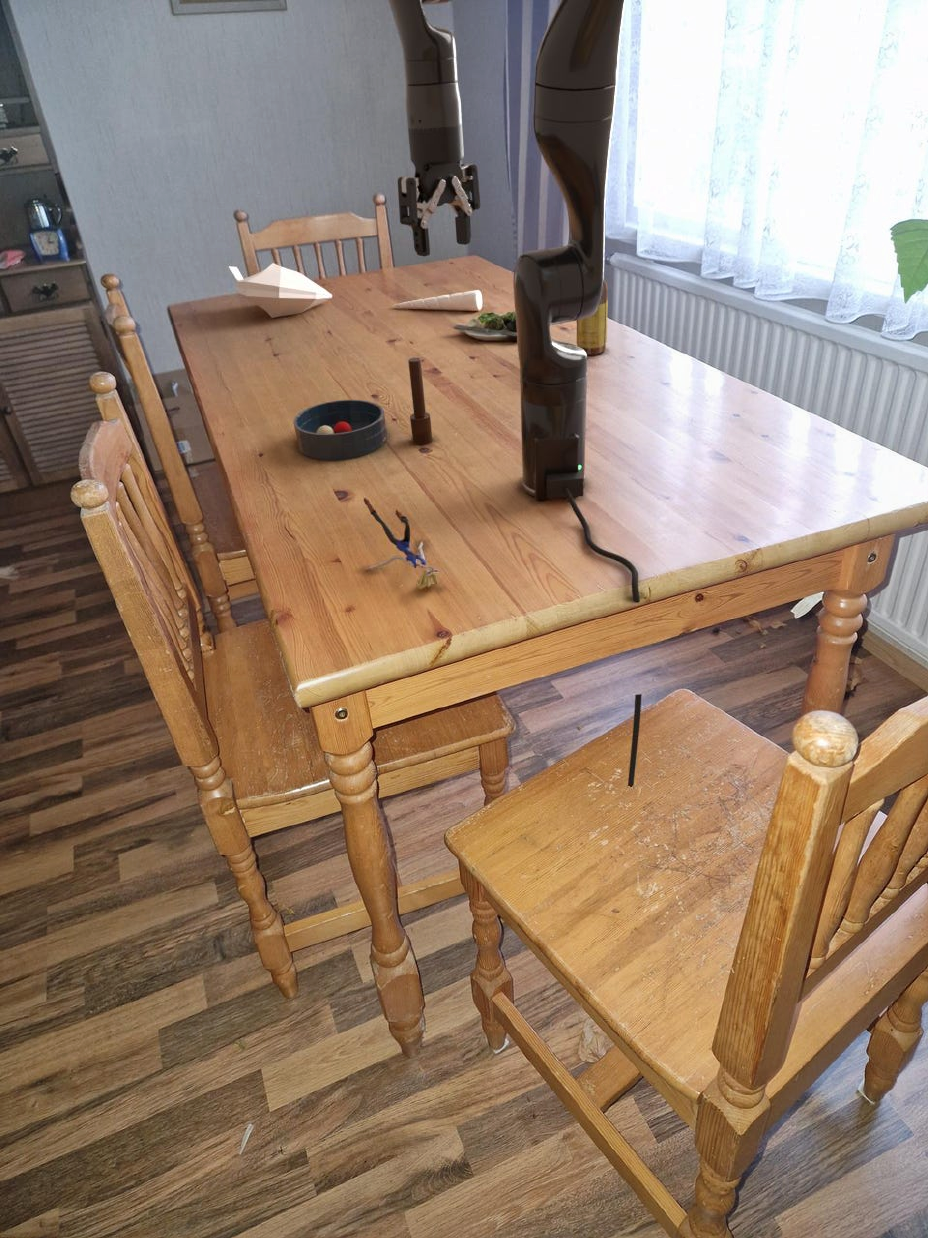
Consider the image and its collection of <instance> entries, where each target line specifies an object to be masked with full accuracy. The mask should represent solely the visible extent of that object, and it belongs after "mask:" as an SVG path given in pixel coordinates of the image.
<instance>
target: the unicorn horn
mask: <svg viewBox="0 0 928 1238" xmlns="http://www.w3.org/2000/svg"><path fill="white" fill-rule="evenodd" d="M392 307H394V308H398V309H399V308H400V309H412V310H432V311H433V310H435V311H459V312H460V311H461V312H463V311H464V312H465V311H467V312H469V311H470V312H480V311H481V310H482V308H483V295H482V292H481V290H479V289H474V290H468V291H464V292H455V293H450V294H443V295H437V296H429V297H425V298H424V299H423V298H419V299H414V300H411V301H410V300H408V301H404V302H399V303H395V304H393V305H392Z"/></svg>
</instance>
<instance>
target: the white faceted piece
mask: <svg viewBox="0 0 928 1238" xmlns="http://www.w3.org/2000/svg"><path fill="white" fill-rule="evenodd" d="M228 269H229V271H231V274H232V276H233V278H234V279H235V280H236V286H237V288H236V293H237V294H239V295H240V296H242V297H244V298H245V299H247V300H249V301H250V302H252V303H253V304H255V305H257V306H258V307H260V309H262V310H264V311H265V312H266V313H267V315H268V316H270V318H272V319H274V318H280V317H286V316H293V315H299V314H301V313H304V312H305V311H307V310H310V309H312V308H315V307H316V306H318V305H320V304H322V303H325V302H326V301H329V300H330V299H333V294H332V293H330V292H329V291H327V290H326V289H325V288H324V287H323V286H320V285H319V284H317V283H316V282H314V281H313V280H311V279H310V278H308V277H307V276H306V275H304V274H303V273H301V272H300V271H296V270H294V269H290V268H287V267H284V266H280V265H278V264H276V263H274V262H272V263H271V264H269V266H267V267H266V268H265V269H263V270H261V271H259V272H257V273H255V274H252V275H250V276H248V277H243V276H242V273H241V272H240V270H239V268H238V266H231V265H229V266H228Z"/></svg>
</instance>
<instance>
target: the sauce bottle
mask: <svg viewBox="0 0 928 1238" xmlns="http://www.w3.org/2000/svg"><path fill="white" fill-rule="evenodd" d="M608 303H609V299H608V284H607V281H606V280H605V277H603V289H602V295H601V300H600V303H599V306H598V309H597V310H596V312H595V313H594V314H593V315H592V316H591V317H589V318H586V319H582V320H577V321H576V346H578V347H580V348H582V349H583V350H584V351H585V352H586V355H587V356H588V355H590V356H595V355H599V354H602V353H604V352H606V349H607V342H608V308H609V307H608Z"/></svg>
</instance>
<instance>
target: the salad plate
mask: <svg viewBox="0 0 928 1238" xmlns="http://www.w3.org/2000/svg"><path fill="white" fill-rule="evenodd" d="M452 327H453V329H454V330H457V331H459V332H463V333H464V334H466V335H467V336H470V337H471V338H474V339H476V340H480V341H483V342H517V328H516V314H515V310H513V311H512V312H511V311H507V312H506V313H503V314H499V313H498V314H497V313H495V312H494V311H492V312H482V313H481V315H478V316H474V317H472V318H470V319H469V320H468V323H467V325H463V324H455V325H453V326H452Z"/></svg>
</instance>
